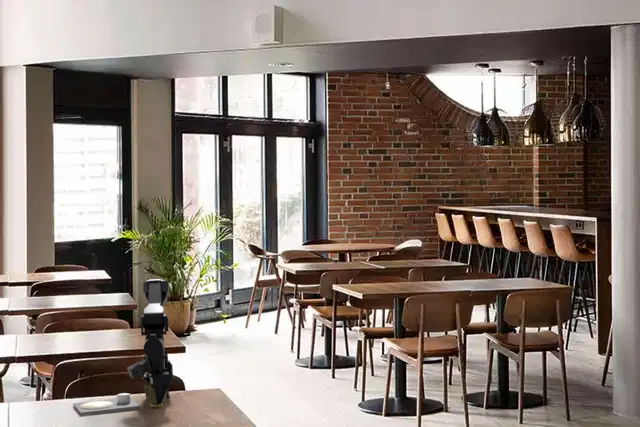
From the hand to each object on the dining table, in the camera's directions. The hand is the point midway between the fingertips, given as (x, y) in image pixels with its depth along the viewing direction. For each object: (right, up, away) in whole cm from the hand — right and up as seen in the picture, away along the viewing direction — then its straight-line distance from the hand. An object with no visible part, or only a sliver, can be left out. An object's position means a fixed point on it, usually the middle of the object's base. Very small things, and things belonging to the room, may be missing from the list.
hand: (156, 401), depth 298 cm
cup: (0, -2, 0) cm, 2 cm away
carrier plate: (-16, -2, +2) cm, 16 cm away
